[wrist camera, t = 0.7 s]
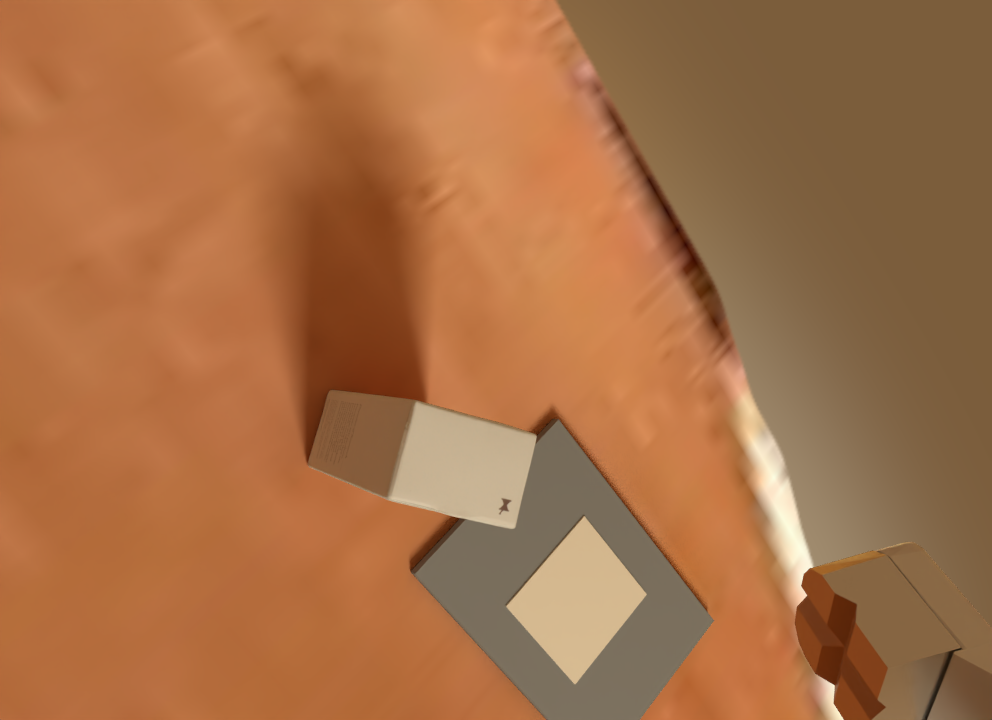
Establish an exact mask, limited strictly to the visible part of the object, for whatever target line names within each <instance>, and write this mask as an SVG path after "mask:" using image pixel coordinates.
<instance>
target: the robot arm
mask: <svg viewBox="0 0 992 720" xmlns="http://www.w3.org/2000/svg"><path fill="white" fill-rule="evenodd" d="M801 586H802V588H803V589H804V591H805V592H806V594H807V595H808V596H807V597H806V598H805V599H804V600H803V601H802V602H801V603H800V604H799V605H798V606H797V611H796V618H795V626H796V631H797V636H798V641H799V643H800V646H801V648H802V650H803V653H804V655H805V657H806V659H807V661H808V662H809V664H810V666H811V667H812V669H813V671H814V672H815V674H817V675H818V676H820V677H822V678H823V679H825V680H827V681H829V682H830V683H832V684H834V685H835V692H834V705H835V706H836V708H837V709H838V711H839V712H840V714H841V716H842V717H843V719H844V720H992V628H991V627H990V626H989V624H988V623H987V622H986V621H985V620H984V618H983V617H982V616H981V615H980V614H979V613H978V611H977V610H976V609H975V608H974V607H973V606H972V605H971V603H970V602H969V601H968V600H967V599H966V598H965V596H964V595H963V594H962V593H961V592H960V591H959V589H958V588H957V587H956V586H955V585H954V584H953V583H952V581H951V580H950V579H949V578H948V577H947V576H946V574H945V573H944V572H943V571H942V570H941V569H940V568H939V567H938V565H937V564H936V563H935V562H934V561H933V560H932V558H931V557H930V556H929V555H928V554H927V553H926V552H925V550H924V549H923V548H922V547H920V546H919V545H917V544H916V543H914V542H904V543H901V544H897V545H894V546H890V547H886V548H883V549H880V550H876V551H869V552H866V553H862V554H858V555H855V556H852V557H848V558H845V559H841V560H838V561H834V562H831V563H827V564H824V565H820V566H817V567H813V568H810V569H809V570H808V571H807V572H806V573H804V576H803V581H802V585H801Z"/></svg>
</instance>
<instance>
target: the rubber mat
mask: <svg viewBox="0 0 992 720" xmlns="http://www.w3.org/2000/svg"><path fill="white" fill-rule="evenodd" d="M411 573H412V574H413V575H414V576H415V577H416V578H417V579H418V580H419V582H420V583H421V584H422V585H423V586H424V587H425V588H426V589H427V590H428V591H429V592H430V593H431V595H432V596H433V597H434V598H435V599H436V600H437V601H438V602H439V603H440V604H441V605H442V607H443V608H444V609H445V610H446V611H447V612H448V613H449V614H450V615H451V616H452V617H453V618H454V620H455V621H456V622H457V623H458V624H459V625H460V626H461V627H462V628H463V629H464V630H465V632H466V633H467V634H468V635H469V636H470V637H471V638H472V639H473V640H474V641H475V642H476V643H477V645H478V646H479V647H480V648H481V649H482V650H483V651H484V652H485V653H486V654H487V655H488V657H489V658H490V659H491V660H492V661H493V662H494V663H495V664H496V665H497V666H498V667H499V669H500V670H501V671H502V672H503V673H504V674H505V675H506V676H507V677H508V678H509V679H510V680H511V682H512V683H513V684H514V685H515V686H516V687H517V688H518V689H519V690H520V691H521V692H522V694H523V695H524V696H525V697H526V698H527V699H528V700H529V701H530V702H531V703H532V704H533V705H534V707H535V708H536V709H537V710H538V711H539V712H540V713H541V714H542V715H543V716H544V717H545V719H546V720H640V719H641V717H642V716H643V715H644V713H645V712H646V711H647V709H648V708H649V707H650V705H651V704H652V703H653V701H654V700H655V699H656V697H657V696H658V695H659V693H660V692H661V691H662V689H663V688H664V687H665V685H666V684H667V683H668V681H669V680H670V679H671V677H672V676H673V675H674V673H675V672H676V671H677V669H678V668H679V667H680V665H681V664H682V663H683V661H684V660H685V659H686V657H687V656H688V655H689V653H690V652H691V651H692V649H693V648H694V647H695V645H696V644H697V643H698V641H699V640H700V639H701V637H702V636H703V635H704V633H705V632H706V631H707V629H708V628H709V627H710V625H711V624H712V623H713V621H714V620H713V619H712V618H711V616H710V615H709V614H708V612H707V611H706V610H705V609H704V607H703V606H702V605H701V603H700V602H699V601H698V599H697V598H696V597H695V596H694V594H693V593H692V592H691V590H690V589H689V588H688V587H687V585H686V584H685V583H684V581H683V580H682V579H681V577H680V576H679V575H678V574H677V572H676V571H675V570H674V568H673V567H672V566H671V564H670V563H669V562H668V561H667V559H666V558H665V557H664V555H663V554H662V553H661V552H660V550H659V549H658V548H657V546H656V545H655V544H654V542H653V541H652V540H651V539H650V537H649V536H648V535H647V533H646V532H645V531H644V529H643V528H642V527H641V526H640V524H639V523H638V522H637V520H636V519H635V518H634V517H633V515H632V514H631V513H630V511H629V510H628V509H627V507H626V506H625V505H624V504H623V502H622V501H621V500H620V498H619V497H618V496H617V494H616V493H615V492H614V491H613V489H612V488H611V487H610V485H609V484H608V483H607V482H606V480H605V479H604V478H603V476H602V475H601V474H600V472H599V471H598V470H597V469H596V467H595V466H594V465H593V463H592V462H591V461H590V459H589V458H588V457H587V456H586V454H585V453H584V452H583V450H582V449H581V448H580V447H579V445H578V444H577V443H576V441H575V440H574V439H573V437H572V436H571V435H570V434H569V432H568V431H567V430H566V428H565V427H564V426H563V424H562V423H561V422H560V421H559V419H552V420H551V421H550V423H549V424H548V425H547V426H546V427H545V428H544V429H543V430H542V431H541V432H540V433H539V434H538V435H537V438H536V443H535V447H534V452H533V456H532V460H531V464H530V468H529V472H528V476H527V480H526V484H525V488H524V492H523V496H522V501H521V505H520V509H519V514H518V518H517V523H516V527H515V528H514V529H509V528H504V527H499V526H494V525H490V524H485V523H481V522H476V521H472V520H468V519H464V518H460V519H459V520H458V521H457V522H456V523H455V524H454V525H453V527H452V528H451V529H450V530H449V531H448V532H447V533H446V534H445V535H444V536H443V537H442V538H441V539H440V541H439V542H438V543H437V544H436V545H435V546H434V547H433V548H432V549H431V550H430V551H429V552H428V553H427V554H426V556H425V557H424V558H423V559H422V560H421V561H420V562H419V563H418V564H417V565H416V566H415V567H414V568H413V569H412V571H411Z"/></svg>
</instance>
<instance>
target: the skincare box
mask: <svg viewBox="0 0 992 720" xmlns="http://www.w3.org/2000/svg"><path fill="white" fill-rule="evenodd" d="M536 438H537V436H536V434H534V433H531V432H528V431H525V430H522V429H519V428H516V427H512V426H509V425H506V424H503V423H499V422H496V421H492V420H488V419H484V418H480V417H476V416H472V415H468V414H465V413H461V412H457V411H454V410H450V409H447V408H443V407H439V406H436V405H432V404H428V403H425V402H421V401H418V400H412V399H404V398H396V397H388V396H380V395H373V394H364V393H356V392H347V391H338V390H330V391H329V392H328V394H327V398H326V402H325V406H324V410H323V413H322V416H321V420H320V424H319V427H318V430H317V433H316V437H315V440H314V443H313V447H312V450H311V454H310V457H309V461H308V466H309V467H310V468H313V469H315V470H317V471H320V472H322V473H325V474H327V475H329V476H332V477H334V478H337V479H339V480H341V481H344V482H346V483H348V484H351V485H353V486H355V487H358V488H360V489H362V490H365V491H367V492H370V493H372V494H375V495H377V496H380V497H382V498H385V499H387V500H389V501H393V502H397V503H401V504H406V505H410V506H414V507H418V508H423V509H427V510H431V511H436V512H440V513H443V514H446V515H449V516H453V517H457V518H464V519H468V520H472V521H476V522H481V523H485V524H490V525H494V526H499V527H504V528H509V529H514V528H515V527H516V523H517V518H518V514H519V509H520V505H521V501H522V496H523V492H524V488H525V484H526V480H527V476H528V472H529V468H530V464H531V460H532V456H533V452H534V447H535V443H536Z"/></svg>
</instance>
